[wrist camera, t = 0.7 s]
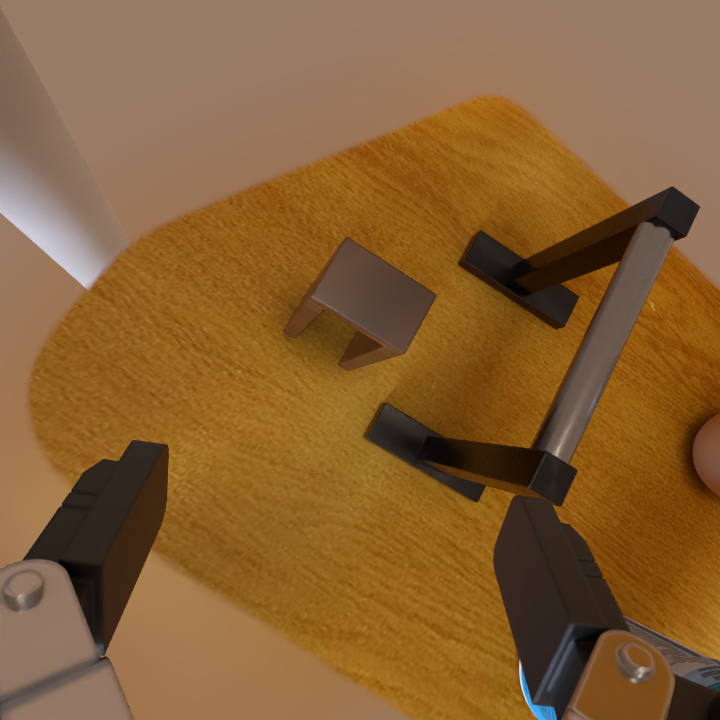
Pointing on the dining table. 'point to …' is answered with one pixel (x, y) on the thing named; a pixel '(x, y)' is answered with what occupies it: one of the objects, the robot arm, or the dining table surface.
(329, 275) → the two-legged arch bridge
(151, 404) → the dining table surface
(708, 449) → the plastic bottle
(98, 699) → the robot arm
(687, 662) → the beverage bottle
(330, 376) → the dining table surface
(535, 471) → the rack
